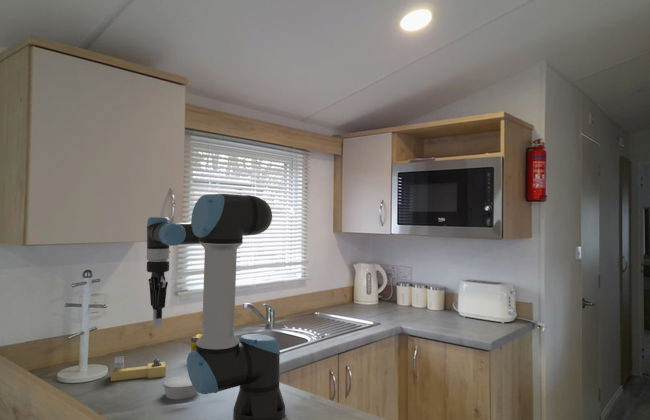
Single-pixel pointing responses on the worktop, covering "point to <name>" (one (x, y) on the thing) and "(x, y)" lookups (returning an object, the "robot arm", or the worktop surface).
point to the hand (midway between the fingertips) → (157, 327)
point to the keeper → (119, 362)
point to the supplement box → (194, 342)
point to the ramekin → (179, 387)
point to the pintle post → (156, 362)
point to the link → (139, 372)
